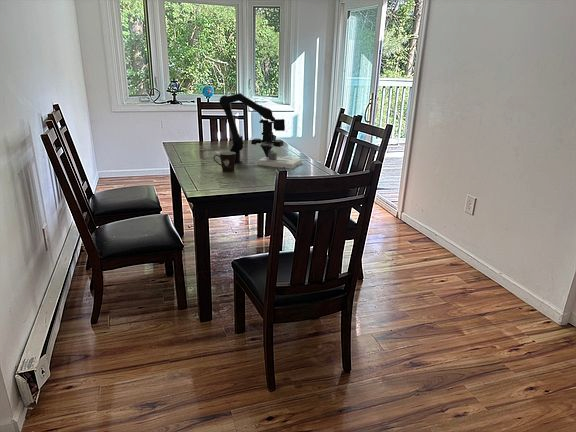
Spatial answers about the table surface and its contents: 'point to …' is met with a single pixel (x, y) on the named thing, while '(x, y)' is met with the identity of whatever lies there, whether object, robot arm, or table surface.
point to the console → (280, 162)
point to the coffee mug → (227, 161)
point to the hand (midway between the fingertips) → (267, 156)
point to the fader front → (272, 155)
